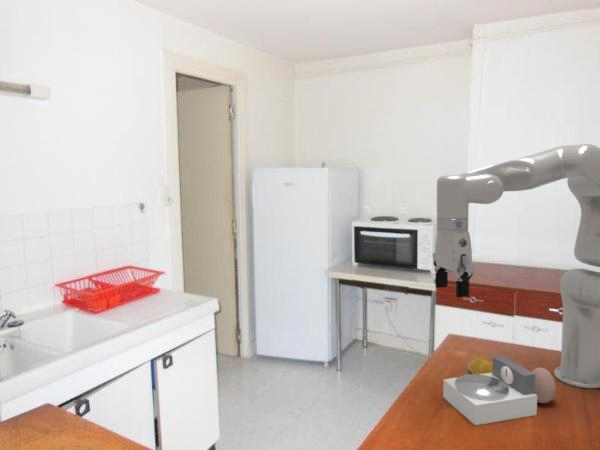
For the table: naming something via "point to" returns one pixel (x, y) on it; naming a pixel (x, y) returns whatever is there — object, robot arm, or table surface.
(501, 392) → the scale pan
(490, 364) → the bread roll
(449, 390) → the kitchen scale
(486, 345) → the table surface
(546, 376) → the egg
